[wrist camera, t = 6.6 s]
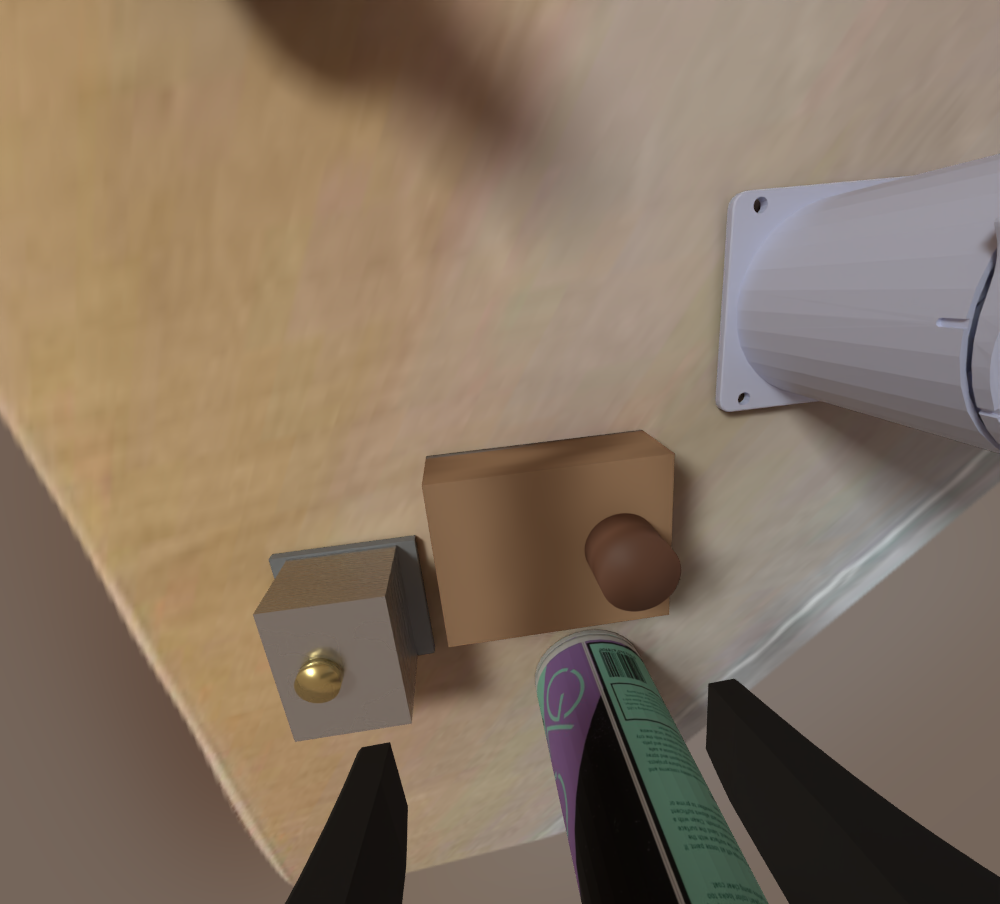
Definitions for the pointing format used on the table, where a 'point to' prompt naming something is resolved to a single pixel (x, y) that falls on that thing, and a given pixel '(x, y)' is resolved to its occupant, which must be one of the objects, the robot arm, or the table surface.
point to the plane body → (551, 535)
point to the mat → (409, 575)
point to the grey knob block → (340, 642)
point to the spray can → (632, 784)
